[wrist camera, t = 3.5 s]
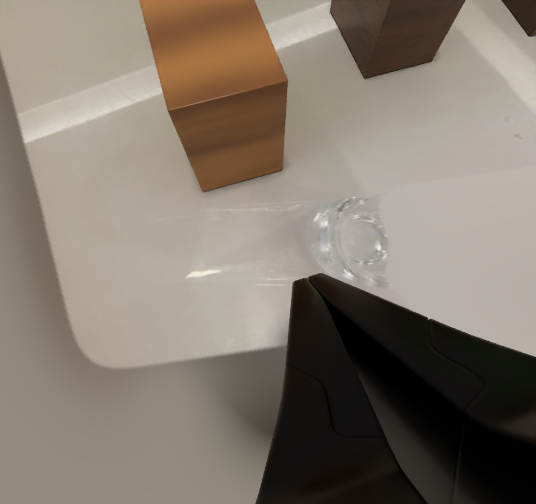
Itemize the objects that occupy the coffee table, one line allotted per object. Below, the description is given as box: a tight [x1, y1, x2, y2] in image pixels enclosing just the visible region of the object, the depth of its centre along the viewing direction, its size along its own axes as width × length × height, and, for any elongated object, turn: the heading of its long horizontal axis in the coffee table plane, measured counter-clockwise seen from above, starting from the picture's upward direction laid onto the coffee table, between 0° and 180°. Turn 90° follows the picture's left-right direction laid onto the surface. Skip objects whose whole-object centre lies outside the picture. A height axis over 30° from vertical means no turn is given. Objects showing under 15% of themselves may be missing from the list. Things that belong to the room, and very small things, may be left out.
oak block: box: [139, 0, 288, 192], centre depth 20 cm, size 8×6×8 cm
